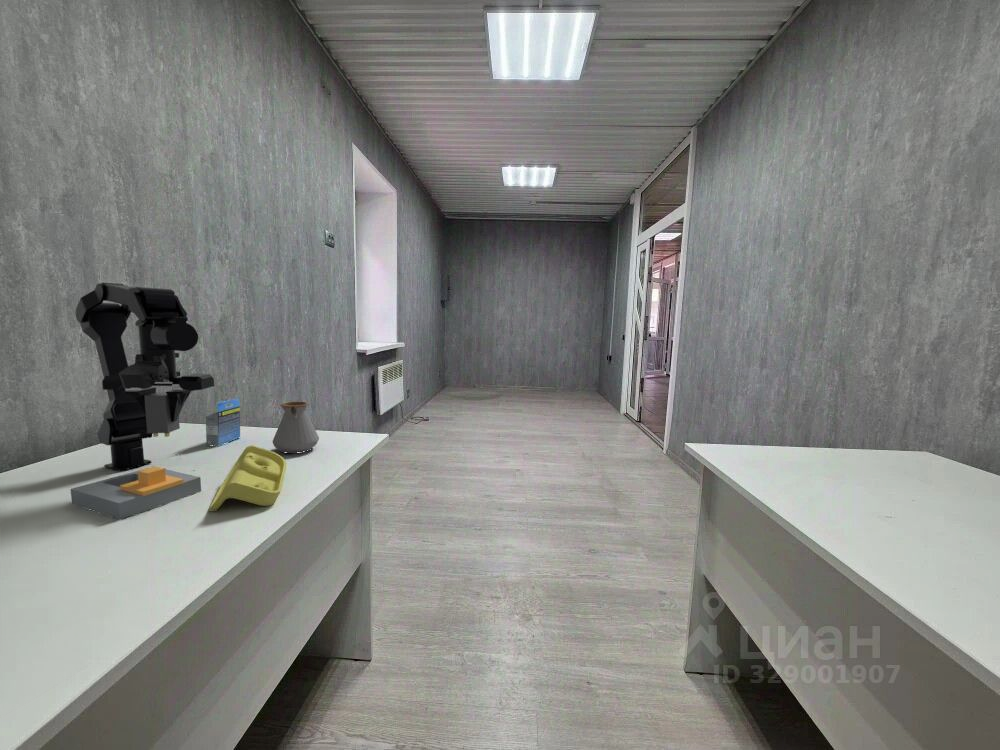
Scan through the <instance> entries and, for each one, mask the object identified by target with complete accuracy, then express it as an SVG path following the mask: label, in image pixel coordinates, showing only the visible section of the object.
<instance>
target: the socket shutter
mask: <svg viewBox="0 0 1000 750" xmlns="http://www.w3.org/2000/svg"><path fill="white" fill-rule="evenodd" d="M146 468H147V469H146ZM146 468H143V470H142V469H139V470H137V471H138V480H137V481H134V482H130V483H127V484H123V485H120V490H123V491H127V492H131V493H134V494H138V495H142V496H145V495H148V494H151V493H155V492H158V491H161V490H164V489H167V488H170V487H173V486H176V485H180V484H183V483H184V479H181V478H177V477H172V476H168V475H166V474H165V469H166V468H165V467H161V466H156V465H154V467H153V466H151V467H146Z"/></svg>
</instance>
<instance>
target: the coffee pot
mask: <svg viewBox="0 0 1000 750" xmlns="http://www.w3.org/2000/svg"><path fill="white" fill-rule="evenodd" d="M308 405H309V403H308V402H307V401H290V402H288V401H287V402H284V403H282V404H280V407H281V408H282V409H283V410H284V413H283V415H282V418H281V420H280V422H279V425H278V427H277V429H276V432H275V434H274V437H273V439H272V445H273V446H274V448H276V449H277V450H278V451H280V452H281V451H282V452H287V453H297V452H303V451H307V450H310V449H311V448H312V449H313V448H314V447H315V446H316V445H317V444H318V442H319V439H320V435H319V434H318V432H317V430H316V429H315V427H314V424H313V422H312V420H311V418H310V417H309V414H308V413H307V406H308ZM312 449H311V450H312ZM311 450H310V451H311ZM282 452H281V453H282Z"/></svg>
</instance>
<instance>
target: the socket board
mask: <svg viewBox="0 0 1000 750" xmlns="http://www.w3.org/2000/svg"><path fill="white" fill-rule="evenodd" d="M154 466H155V465H154ZM154 466H152V467H154ZM147 468H148V467H146V468H145V469H147ZM143 469H144V468H143ZM143 469H141V470H143ZM138 471H139V470H135V471H131V472H127V473H125V474H119V475H117V476H112V477H108V478H106V479H103V480H98V481H95V482H91V483H88V484H84V485H80V486H76V487H72V488H70V495H71V496H70V497H71V505H73V504H74V506H76V505H77V507H79V506H80V508H83V507H84V508H83V509H86V508H87V510H89V509H91V510H90V511H92V510H94V511H93V512H95V511H96V512H95V513H98V512H99V514H102V515H105V516H108V515H109V517H111V516H112V518H114V517H115V519H117V518H118V520H123V519H126V518H128V516H129V517H132V516H135V515H138V514H141V513H143V512H146V511H148V510H152V509H155V508H157V507H160V506H163V505H166V504H170V503H171V502H174V501H178V500H180V499H183V498H186V497H190V496H191V494H192V495H194V493H195V494H197V492H198V493H200V491H201V492H202V481H201V477H200V476H196V475H194V474H193V475H192V474H188V473H185V472H180V471H174V470H171V469H166V468H165V474H166V475H168V476H172V477H177V478H181V479H184V483H183V484H180V485H176V486H173V487H170V488H167V489H164V490H161V491H158V492H155V493H151V494H148V495H145V496H142V495H138V494H134V493H131V492H127V491H123V490H120V485H123V484H127V483H130V482H134V481H137V480H138ZM140 512H141V513H140ZM137 513H138V514H137ZM134 514H135V515H134ZM131 515H132V516H131ZM125 517H126V518H125ZM122 518H123V519H122Z"/></svg>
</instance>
